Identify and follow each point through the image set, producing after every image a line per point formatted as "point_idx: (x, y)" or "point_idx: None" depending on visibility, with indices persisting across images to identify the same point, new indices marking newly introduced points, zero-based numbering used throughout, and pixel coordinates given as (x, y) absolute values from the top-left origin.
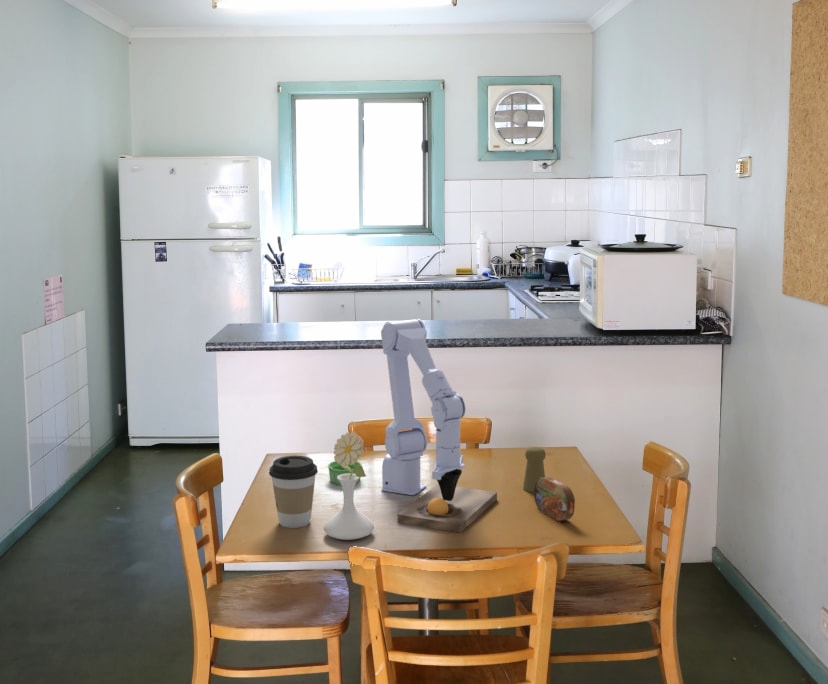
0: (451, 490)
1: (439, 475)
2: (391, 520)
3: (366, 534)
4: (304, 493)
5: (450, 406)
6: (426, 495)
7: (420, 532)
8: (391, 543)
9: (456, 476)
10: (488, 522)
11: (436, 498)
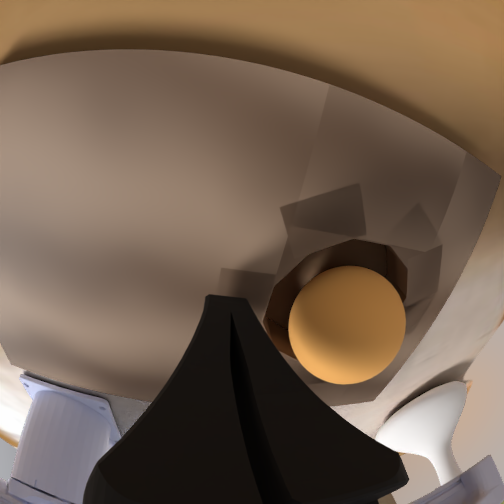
0: (284, 359)
1: (499, 480)
2: None
3: (462, 382)
4: (389, 497)
5: None
6: (144, 392)
7: (448, 300)
8: (481, 331)
9: (366, 483)
10: (351, 20)
11: (368, 374)
